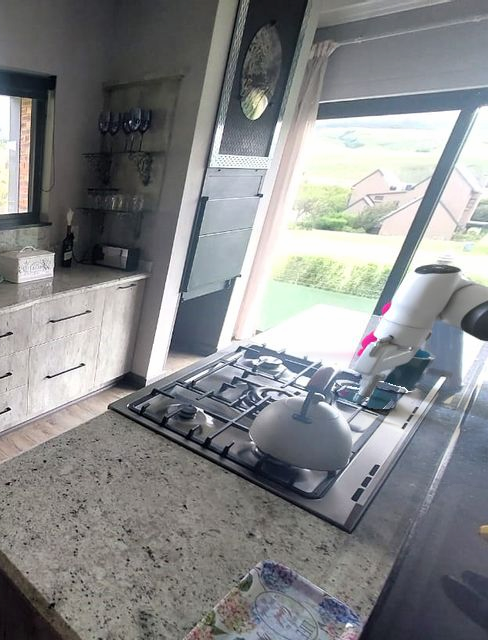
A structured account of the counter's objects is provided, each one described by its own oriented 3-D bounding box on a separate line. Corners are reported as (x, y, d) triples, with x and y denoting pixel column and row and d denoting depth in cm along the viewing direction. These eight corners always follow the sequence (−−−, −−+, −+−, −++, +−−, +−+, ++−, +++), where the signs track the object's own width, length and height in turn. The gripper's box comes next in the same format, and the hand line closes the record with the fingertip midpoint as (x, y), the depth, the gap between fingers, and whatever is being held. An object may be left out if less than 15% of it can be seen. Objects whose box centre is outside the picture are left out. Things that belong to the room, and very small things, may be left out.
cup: (421, 388, 112) (443, 354, 107) (400, 397, 108) (422, 362, 102) (372, 370, 121) (390, 338, 116) (351, 377, 117) (369, 344, 111)
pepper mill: (381, 364, 125) (417, 302, 115) (352, 356, 130) (384, 296, 120) (386, 358, 129) (421, 298, 119) (358, 350, 134) (389, 292, 124)
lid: (402, 405, 104) (419, 379, 100) (377, 416, 99) (394, 389, 95) (347, 382, 113) (361, 358, 110) (322, 391, 108) (335, 366, 105)
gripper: (394, 344, 90) (364, 397, 97) (436, 332, 98) (405, 380, 105) (362, 334, 95) (335, 384, 102) (404, 323, 103) (377, 370, 110)
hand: (371, 382), depth 104 cm, fingers open, 6 cm apart
